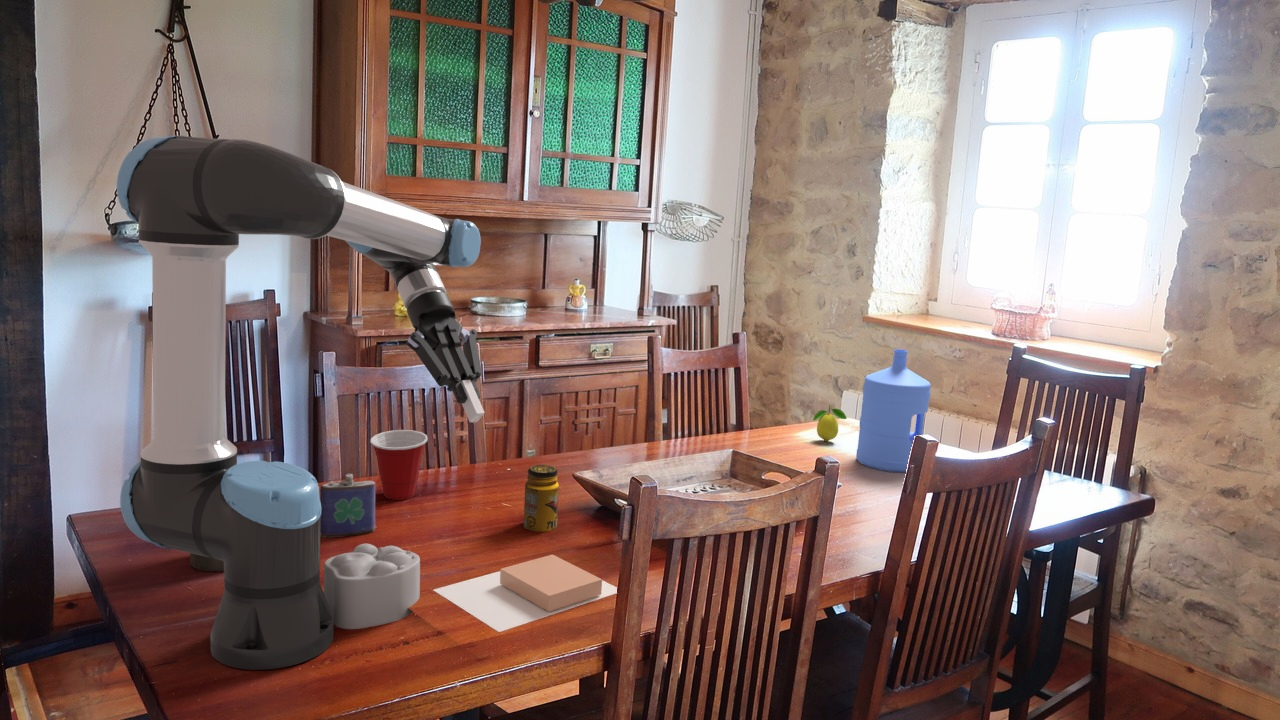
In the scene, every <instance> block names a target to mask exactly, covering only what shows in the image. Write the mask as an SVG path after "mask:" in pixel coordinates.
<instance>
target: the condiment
mask: <svg viewBox="0 0 1280 720" xmlns="http://www.w3.org/2000/svg"><path fill="white" fill-rule="evenodd" d="M526 479H527V481H526V483H525V484H524V505H523V506H524V507H523V528H525V529H526V530H528V531H531V532H535V533H536V532H541V533H546V532H551V531H554V530H556V529H557V527H558V515H559V513H558V512H559V491H560V485H559V482H558V469H557V468H556V467H555V466H552V465H550V464H549V465H548V464H536V465H531V466H530V467H529V468H528V470H527V478H526Z"/></svg>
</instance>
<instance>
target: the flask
mask: <svg viewBox="0 0 1280 720" xmlns="http://www.w3.org/2000/svg"><path fill="white" fill-rule="evenodd" d="M354 477H355V476H354V474H353V473H347V474H345V477H344V478H345V479H343V480H341V481H335V482H334V481H332V480H330V482H328V483H323V484H322V485H320V488H319V494H320V495H319V496H320V502H321V508H322V510H321V525H320V537H321V538H326V537H327V538H343V537H349V536H357V535H359V536H360V535H364V534H365V535H366V534H369V533H374V532H375V530H376V482H375V481H373V480H363V481H354V480H353V479H354Z"/></svg>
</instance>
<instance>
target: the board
mask: <svg viewBox="0 0 1280 720" xmlns="http://www.w3.org/2000/svg"><path fill="white" fill-rule="evenodd" d="M617 588H618V587H617V586H615V585H612V584H611V583H608V582H607V581H605V580H603V579H602V591H601V595H598V596H595V597H592V598H589V599H586V600H583V601H580V602H577V603H574V604H571V605H568V606H564V607H561V608H558V609H555V610H552V611H549V612H548V611H547V610H545V609H543V608H541V607H540V606H538V605H536V604H535V603H533V602H531V601H529V600H528V599H526V598H524V597H522V596H521V595H519V594H517V593H515V592H514V591H512V590H510V589H508V588H507V587H505V586H503V585H501V584H500V570H499V571H496V572H491V573H488V574H484V575H481V576H478V577H474V578H471V579H467V580H463V581H459V582H456V583H452V584H449V585H445V586H441V587H437V588H434V589H432V591H433V592H435V593H437V594H438V595H439V596H441V597H443V598H445V599H446V600H447V601H449V602H450V603H452V604H454V605H456V606H457V607H458V608H460V609H462V610H464V612H467V613H468V614H470V615H471V616H472V617H475V618H476V619H477V620H479V621H481V622H482V623H484V624H485V625H487V626H489V627H490V628H491V629H493V630H494V631H496V632H498V633H502V632H505V631H508V630H510V629H513V628H517V627H520V626H522V625H525V624H529V623H532V622H535V621H537V620H541V619H543V618H546V617H547V618H548V617H550V616H553V615H556V614H559V613H561V612H565V611H569V610H570V609H574V608H577V607H579V606H580V607H581V606H583V605H585V604H588V603H592V602H595V601H598V600H601V599H604V598H608V597H610V596H613V595H616V594H618V593H617Z"/></svg>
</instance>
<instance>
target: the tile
mask: <svg viewBox="0 0 1280 720" xmlns="http://www.w3.org/2000/svg"><path fill="white" fill-rule="evenodd" d="M499 571H500V584H501V585H503V586H505V587H507V588H508V589H510V590H512V591H514V592H515V593H517V594H519V595H521V596H522V597H524V598H526V599H528V600H529V601H531V602H533V603H535V604H536V605H538V606H540V607H541V608H543V609H545V610H547V611H548V612H549V611H552V610H555V609H558V608H561V607H564V606H568V605H571V604H574V603H577V602H580V601H583V600H586V599H589V598H592V597H595V596H598V595H601V591H602V580H603V579H602V578H600V577H598V576H596V575H594V574H593V573H590V572H589V571H586V570H584V569H583V568H581V567H578V566H576V565H574V564H573V563H570V562H569V561H566V560H564V559H562V558H561V557H558V556H557V555H554V554H550V555H545V556H542V557H539V558H538V557H537V558H534V559H531V560H527V561H524V562H520V563H516V564H513V565H510V566H506V567H503V568H500V570H499Z"/></svg>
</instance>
